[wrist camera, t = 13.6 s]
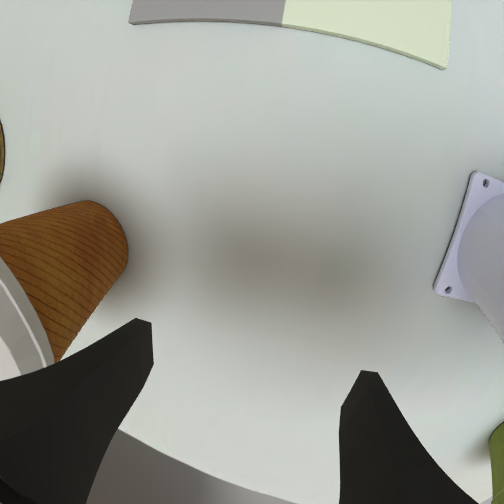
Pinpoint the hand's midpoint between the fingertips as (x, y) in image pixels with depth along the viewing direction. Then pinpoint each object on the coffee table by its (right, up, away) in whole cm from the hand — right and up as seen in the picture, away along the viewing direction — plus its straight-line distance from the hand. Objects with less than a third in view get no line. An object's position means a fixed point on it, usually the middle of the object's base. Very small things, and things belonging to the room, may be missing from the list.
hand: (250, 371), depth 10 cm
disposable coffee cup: (-11, +5, +11) cm, 16 cm away
